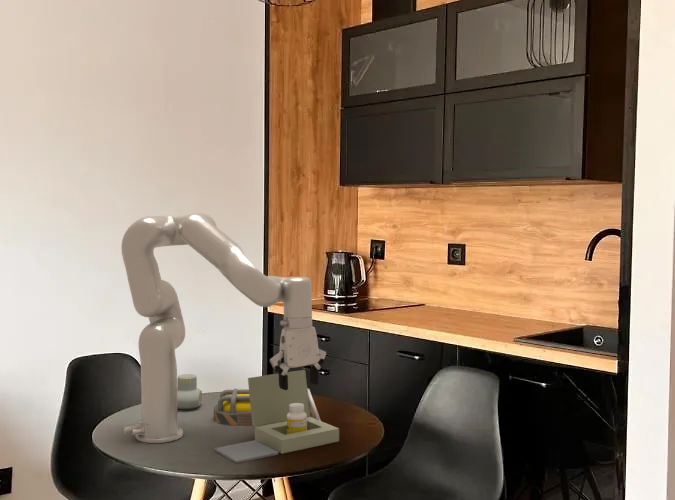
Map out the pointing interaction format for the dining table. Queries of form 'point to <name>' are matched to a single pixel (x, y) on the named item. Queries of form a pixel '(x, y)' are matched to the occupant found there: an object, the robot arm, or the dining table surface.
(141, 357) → the robot arm
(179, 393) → the air freshener
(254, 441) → the slate pad
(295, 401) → the equipment case
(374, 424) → the dining table surface
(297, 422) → the supplement bottle
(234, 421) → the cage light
